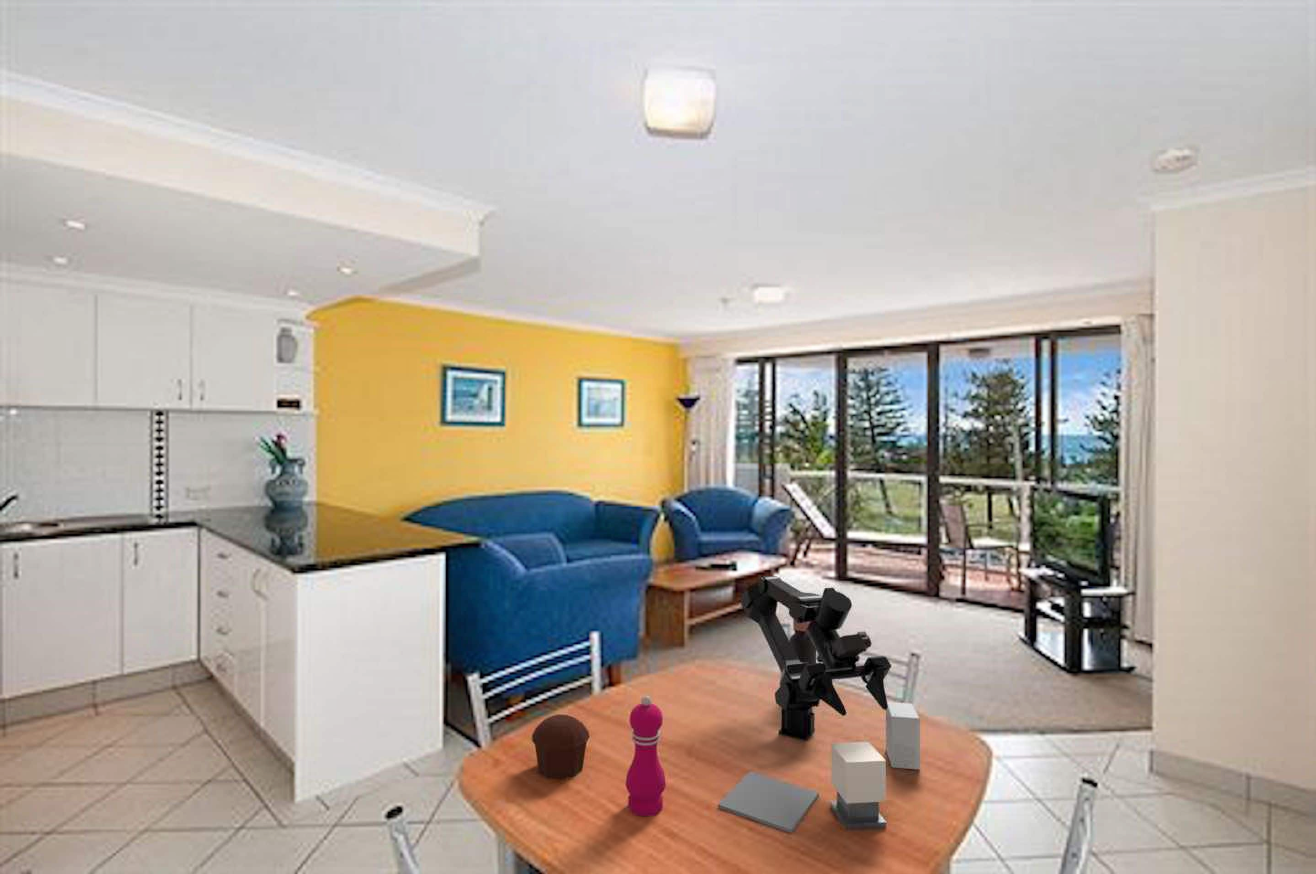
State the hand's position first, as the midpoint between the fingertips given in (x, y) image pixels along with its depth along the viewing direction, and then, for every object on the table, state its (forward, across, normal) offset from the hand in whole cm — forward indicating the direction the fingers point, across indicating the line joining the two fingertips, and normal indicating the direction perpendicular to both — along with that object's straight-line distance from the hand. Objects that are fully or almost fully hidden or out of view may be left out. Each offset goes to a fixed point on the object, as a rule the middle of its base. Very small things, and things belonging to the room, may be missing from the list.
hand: (865, 711), depth 123 cm
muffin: (-12, -54, +27) cm, 62 cm away
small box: (+2, +15, +17) cm, 23 cm away
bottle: (-27, +12, +37) cm, 47 cm away
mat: (+7, -19, +14) cm, 25 cm away
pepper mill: (+3, -42, +16) cm, 45 cm away
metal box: (+14, -7, +8) cm, 18 cm away
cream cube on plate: (+12, -7, +5) cm, 14 cm away
